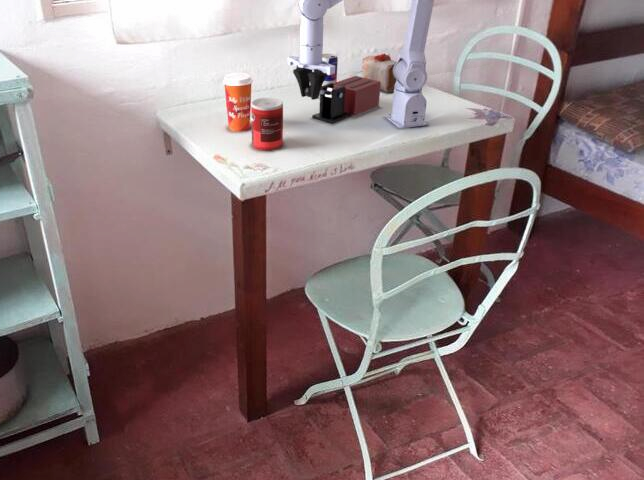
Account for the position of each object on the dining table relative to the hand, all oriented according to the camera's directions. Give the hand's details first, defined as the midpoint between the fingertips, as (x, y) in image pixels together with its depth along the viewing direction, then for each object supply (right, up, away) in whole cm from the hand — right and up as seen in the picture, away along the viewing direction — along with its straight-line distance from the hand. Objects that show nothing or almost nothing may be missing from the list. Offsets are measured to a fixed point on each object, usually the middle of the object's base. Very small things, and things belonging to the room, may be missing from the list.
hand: (309, 97), depth 173 cm
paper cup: (-18, -7, +5) cm, 20 cm away
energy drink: (+8, +7, +25) cm, 27 cm away
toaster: (+14, +1, +15) cm, 21 cm away
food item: (+26, +12, +32) cm, 42 cm away
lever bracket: (+7, -3, +9) cm, 12 cm away
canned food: (-11, -14, -6) cm, 19 cm away
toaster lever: (+3, +1, +3) cm, 4 cm away
